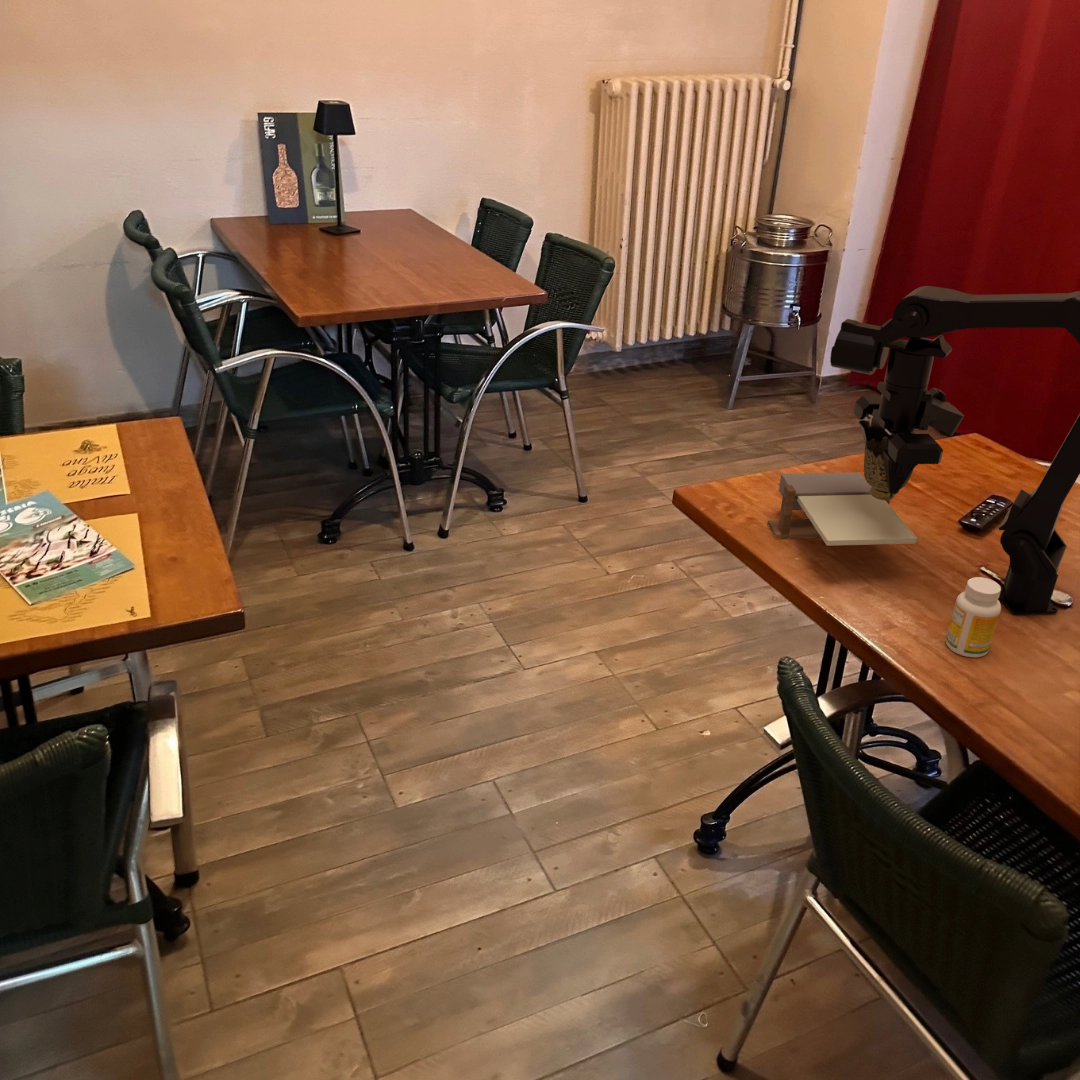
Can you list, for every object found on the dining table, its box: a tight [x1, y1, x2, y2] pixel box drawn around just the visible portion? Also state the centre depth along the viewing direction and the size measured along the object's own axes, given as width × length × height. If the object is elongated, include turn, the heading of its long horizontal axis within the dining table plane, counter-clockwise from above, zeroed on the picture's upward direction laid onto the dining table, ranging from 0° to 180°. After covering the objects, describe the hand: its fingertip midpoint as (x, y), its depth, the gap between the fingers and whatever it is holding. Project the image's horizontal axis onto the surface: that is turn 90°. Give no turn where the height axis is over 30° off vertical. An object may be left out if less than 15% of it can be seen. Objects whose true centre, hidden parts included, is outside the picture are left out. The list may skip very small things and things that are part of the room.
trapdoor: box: [778, 471, 918, 546], centre depth 150 cm, size 23×13×3 cm, turn 4°
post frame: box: [766, 485, 891, 540], centre depth 155 cm, size 5×18×8 cm, turn 94°
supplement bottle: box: [945, 576, 1002, 658], centre depth 127 cm, size 5×5×10 cm
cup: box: [863, 436, 914, 501], centre depth 142 cm, size 8×7×8 cm
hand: (884, 482), depth 143 cm, fingers closed on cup, 6 cm apart
